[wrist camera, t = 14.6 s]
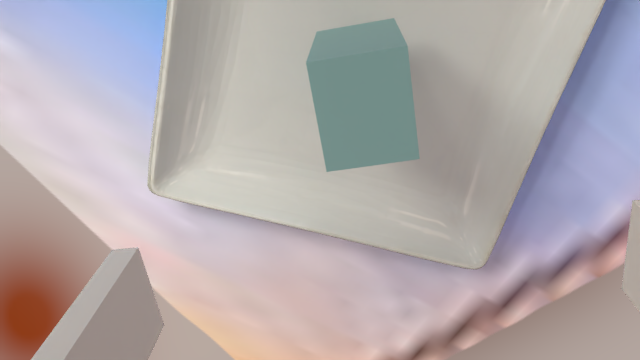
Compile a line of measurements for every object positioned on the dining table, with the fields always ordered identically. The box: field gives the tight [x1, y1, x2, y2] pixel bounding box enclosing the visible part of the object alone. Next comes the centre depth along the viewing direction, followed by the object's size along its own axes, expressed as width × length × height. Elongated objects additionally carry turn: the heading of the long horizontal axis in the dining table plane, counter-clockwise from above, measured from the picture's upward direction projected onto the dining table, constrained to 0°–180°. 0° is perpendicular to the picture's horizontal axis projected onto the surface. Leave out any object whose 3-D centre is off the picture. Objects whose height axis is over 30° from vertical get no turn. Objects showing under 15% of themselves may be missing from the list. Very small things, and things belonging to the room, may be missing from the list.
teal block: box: [306, 18, 420, 172], centre depth 31 cm, size 5×6×9 cm
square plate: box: [148, 0, 606, 269], centre depth 37 cm, size 27×27×4 cm
